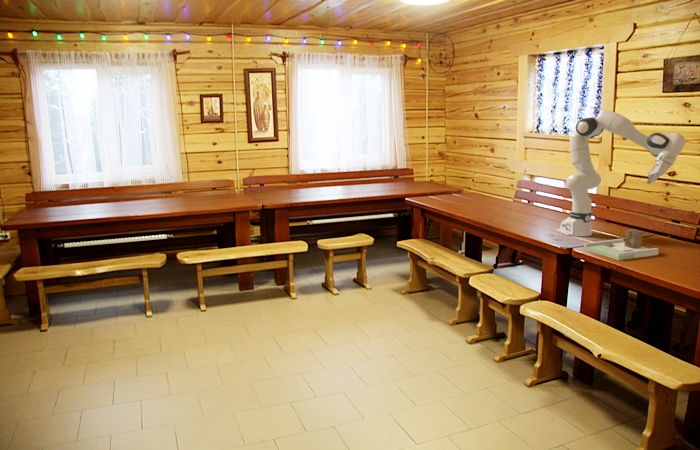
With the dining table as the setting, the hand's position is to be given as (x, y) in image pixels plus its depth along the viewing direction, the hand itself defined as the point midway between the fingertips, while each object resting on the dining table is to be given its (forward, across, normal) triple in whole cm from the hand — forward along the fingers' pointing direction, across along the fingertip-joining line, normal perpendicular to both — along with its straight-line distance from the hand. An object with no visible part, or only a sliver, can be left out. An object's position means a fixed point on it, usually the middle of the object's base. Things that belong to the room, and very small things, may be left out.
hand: (650, 182), depth 321 cm
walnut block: (+35, 0, +11) cm, 37 cm away
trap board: (+41, +4, +6) cm, 42 cm away
